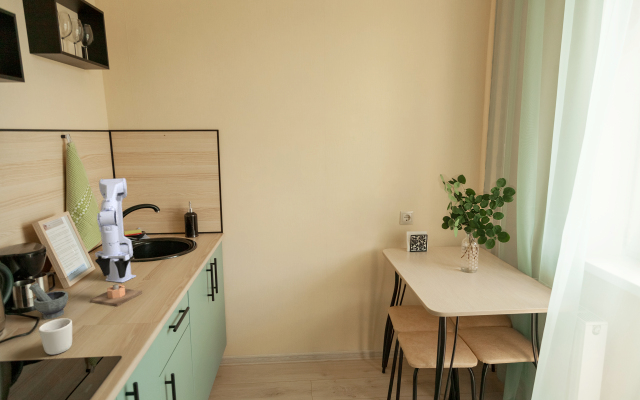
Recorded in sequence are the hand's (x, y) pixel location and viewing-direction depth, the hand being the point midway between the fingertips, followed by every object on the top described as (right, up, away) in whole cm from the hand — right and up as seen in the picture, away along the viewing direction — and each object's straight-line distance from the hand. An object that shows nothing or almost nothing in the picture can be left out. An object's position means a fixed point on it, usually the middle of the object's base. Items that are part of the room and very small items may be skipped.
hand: (114, 276), depth 143 cm
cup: (+2, -15, -32) cm, 36 cm away
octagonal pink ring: (0, -8, +1) cm, 8 cm away
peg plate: (0, -9, +1) cm, 9 cm away
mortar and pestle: (-15, -11, -12) cm, 23 cm away
